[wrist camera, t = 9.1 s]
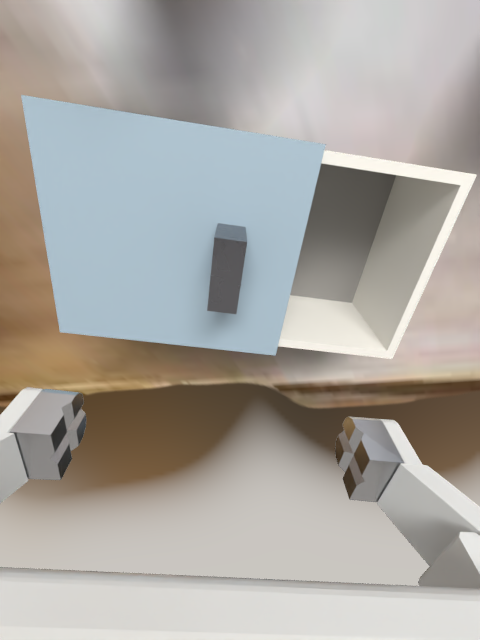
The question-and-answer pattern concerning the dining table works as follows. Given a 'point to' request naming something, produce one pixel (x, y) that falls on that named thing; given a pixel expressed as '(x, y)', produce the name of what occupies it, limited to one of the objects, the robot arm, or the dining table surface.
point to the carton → (369, 252)
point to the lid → (169, 225)
